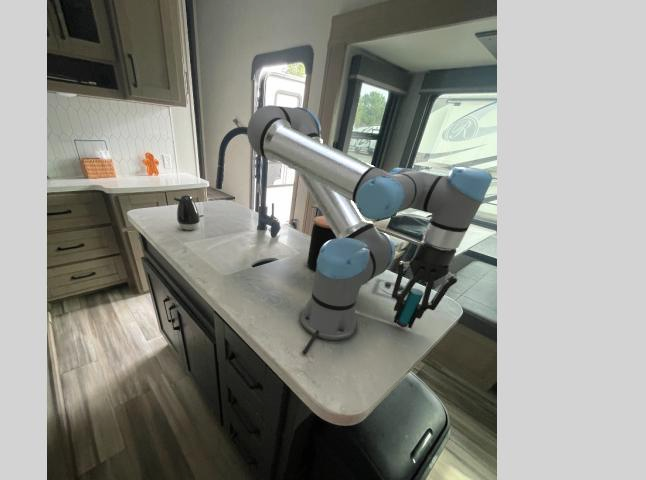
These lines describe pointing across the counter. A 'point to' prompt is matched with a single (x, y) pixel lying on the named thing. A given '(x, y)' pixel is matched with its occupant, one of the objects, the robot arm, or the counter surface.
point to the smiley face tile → (386, 281)
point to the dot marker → (409, 307)
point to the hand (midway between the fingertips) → (402, 322)
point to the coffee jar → (319, 239)
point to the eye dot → (388, 284)
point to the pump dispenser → (187, 213)
